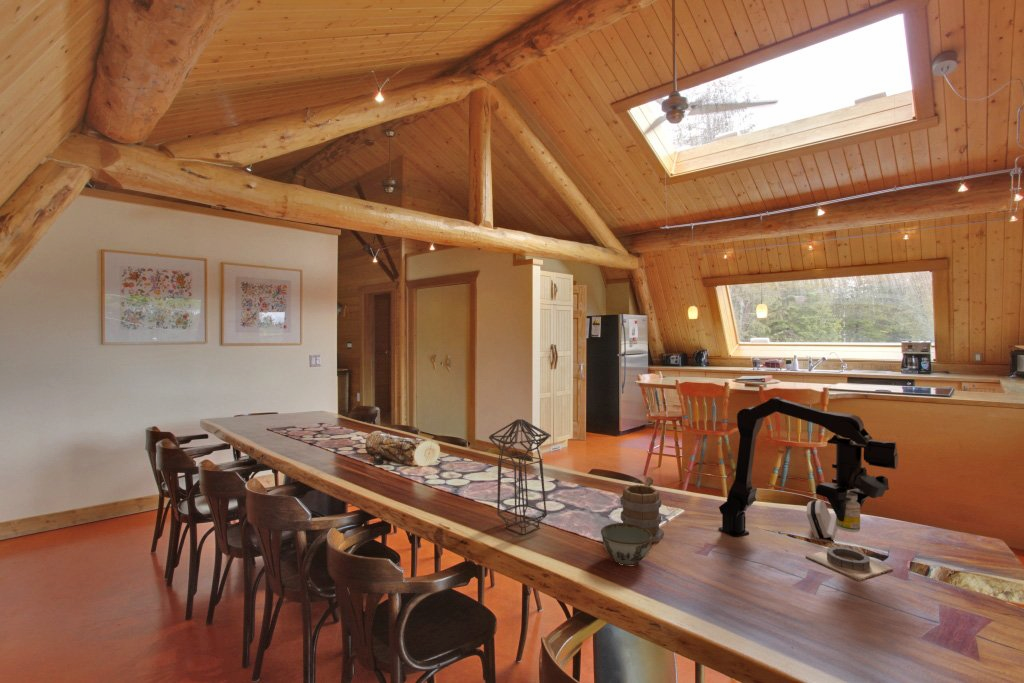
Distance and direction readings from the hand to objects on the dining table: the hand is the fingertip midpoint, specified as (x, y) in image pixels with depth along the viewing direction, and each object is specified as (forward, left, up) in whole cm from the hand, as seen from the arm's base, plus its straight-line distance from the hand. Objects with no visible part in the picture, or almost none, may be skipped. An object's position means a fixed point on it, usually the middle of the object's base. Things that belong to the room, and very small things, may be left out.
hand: (847, 519), depth 131 cm
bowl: (-54, +25, -12) cm, 61 cm away
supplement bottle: (0, 0, -3) cm, 3 cm away
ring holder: (0, 0, -12) cm, 12 cm away
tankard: (-36, +40, -12) cm, 55 cm away
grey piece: (+16, +18, -12) cm, 27 cm away
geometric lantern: (-71, +58, -12) cm, 92 cm away
